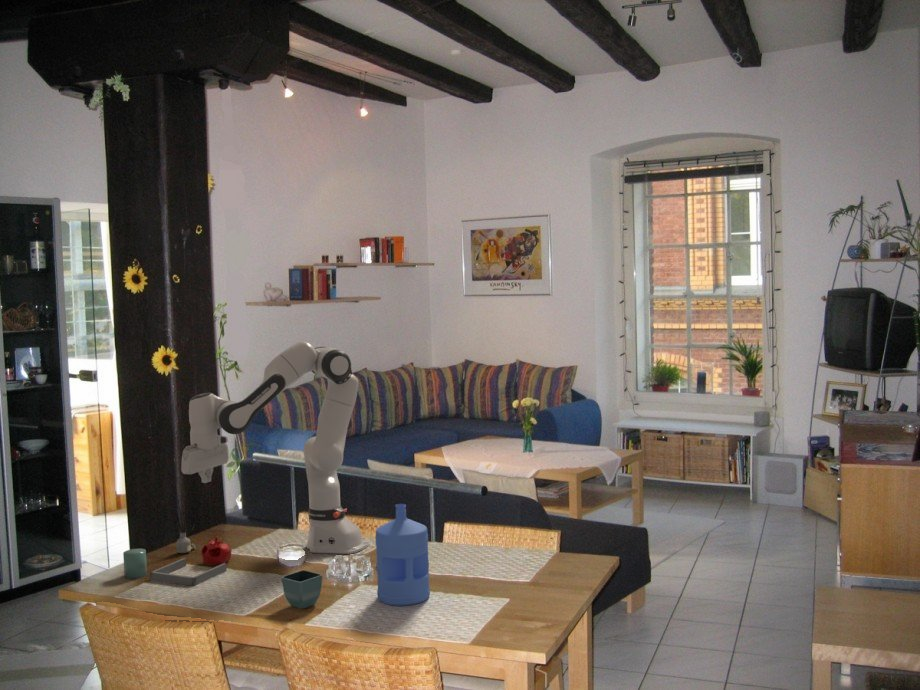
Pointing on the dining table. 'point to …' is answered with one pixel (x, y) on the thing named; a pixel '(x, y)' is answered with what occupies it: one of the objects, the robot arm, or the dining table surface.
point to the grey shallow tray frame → (163, 576)
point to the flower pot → (302, 588)
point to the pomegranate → (216, 553)
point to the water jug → (402, 561)
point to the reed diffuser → (183, 536)
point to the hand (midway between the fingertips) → (206, 482)
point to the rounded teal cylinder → (135, 563)
